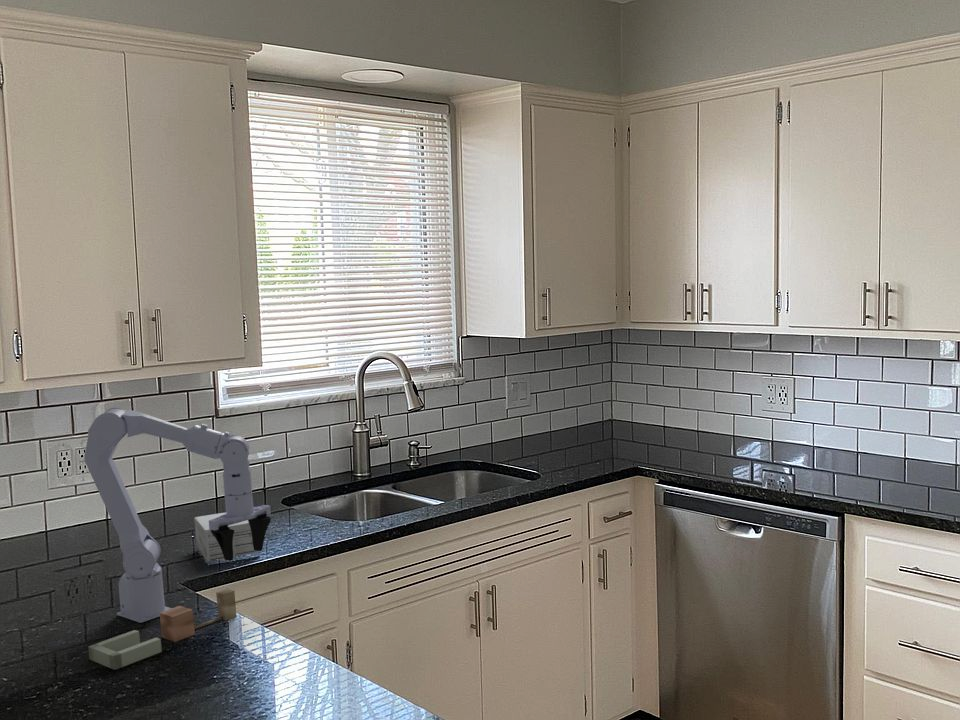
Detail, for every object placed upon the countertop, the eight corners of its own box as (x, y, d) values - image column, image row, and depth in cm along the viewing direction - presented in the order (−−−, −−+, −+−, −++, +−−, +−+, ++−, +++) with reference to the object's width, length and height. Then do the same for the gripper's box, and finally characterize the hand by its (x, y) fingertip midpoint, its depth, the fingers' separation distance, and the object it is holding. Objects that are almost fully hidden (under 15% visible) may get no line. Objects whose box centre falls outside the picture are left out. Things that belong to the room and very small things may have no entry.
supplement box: (261, 557, 235) (258, 521, 235) (207, 567, 230) (204, 530, 229) (247, 542, 251) (244, 508, 250) (196, 551, 245) (193, 516, 244)
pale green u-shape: (89, 659, 175) (88, 646, 174) (136, 642, 182) (134, 629, 182) (114, 669, 169) (113, 656, 169) (161, 651, 176) (160, 638, 176)
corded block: (161, 637, 184) (159, 610, 183) (226, 613, 195) (224, 587, 195) (174, 642, 181) (172, 614, 180) (239, 617, 192) (237, 591, 192)
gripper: (220, 502, 191) (226, 566, 193) (277, 487, 202) (282, 548, 204) (200, 498, 196) (206, 562, 197) (257, 484, 207) (262, 544, 208)
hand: (243, 554), depth 201 cm, fingers open, 7 cm apart
